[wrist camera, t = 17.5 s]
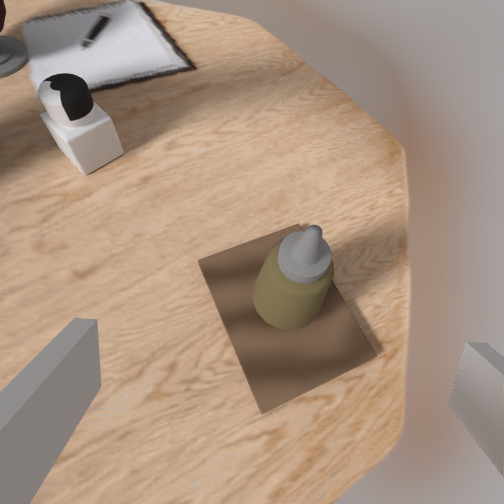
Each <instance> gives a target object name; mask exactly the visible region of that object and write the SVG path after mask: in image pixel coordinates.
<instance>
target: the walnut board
mask: <svg viewBox="0 0 504 504" xmlns="http://www.w3.org/2000/svg"><path fill="white" fill-rule="evenodd" d="M297 231H303V230H302V229H301V227H300V225H299V224H296V225H293V226H290V227H288V228H285V229H282V230H279V231H277V232H274V233H271V234H268V235H266V236H263V237H260V238H257V239H255V240H252V241H249V242H246V243H244V244H241V245H238V246H235V247H233V248H230V249H227V250H224V251H222V252H219V253H216V254H213V255H211V256H208V257H205V258H202V259H200V260H198V262H199V266H200V268H201V271H202V273H203V276H204V278H205V280H206V283H207V285H208V288H209V290H210V292H211V295H212V297H213V300H214V302H215V304H216V307H217V309H218V311H219V314H220V316H221V319H222V321H223V323H224V326H225V328H226V331H227V333H228V335H229V338H230V340H231V342H232V345H233V347H234V350H235V352H236V354H237V357H238V359H239V362H240V364H241V366H242V369H243V371H244V373H245V376H246V378H247V381H248V383H249V385H250V388H251V390H252V393H253V395H254V397H255V400H256V402H257V404H258V407H259V409H260V412H261V414H263V413H265V412H267V411H269V410H271V409H273V408H275V407H277V406H279V405H281V404H283V403H285V402H287V401H289V400H291V399H293V398H295V397H297V396H299V395H301V394H303V393H305V392H307V391H309V390H311V389H313V388H315V387H317V386H319V385H321V384H323V383H325V382H327V381H329V380H331V379H333V378H335V377H337V376H339V375H341V374H343V373H345V372H347V371H349V370H351V369H353V368H355V367H357V366H359V365H361V364H363V363H365V362H367V361H369V360H371V359H373V358H375V357H377V355H376V353H375V352H374V350H373V348H372V347H371V345H370V343H369V342H368V340H367V338H366V336H365V335H364V333H363V331H362V330H361V328H360V326H359V325H358V323H357V321H356V320H355V318H354V316H353V315H352V313H351V311H350V309H349V308H348V306H347V304H346V303H345V301H344V299H343V298H342V296H341V294H340V293H339V291H338V289H337V288H336V286H335V284H334V282H333V281H331V283H330V285H329V288H328V290H327V293H326V295H325V298H324V300H323V303H322V305H321V307H320V310H319V312H318V314H317V317H316V318H315V319H314V320H313V321H312V322H310V323H309V324H308V325H307V326H305V327H302V328H299V329H296V330H285V329H278V328H276V327H274V326H272V325H270V324H268V323H266V322H265V321H264V319H263V318H262V317H261V316H260V315H259V314H258V313H257V311H256V308H255V305H254V302H253V299H252V297H253V286H254V284H255V281H256V279H257V277H258V275H259V273H260V271H261V268H262V266H263V264H264V262H265V260H266V258H267V256H268V254H269V252H270V250H271V248H272V247H273V246H274V245H275V244H276V243H278V242H279V241H280V240H282V239H284V238H285V237H287V236H288V235H289V234H291V233H293V232H297Z"/></svg>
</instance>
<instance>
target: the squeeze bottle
mask: <svg viewBox="0 0 504 504" xmlns="http://www.w3.org/2000/svg"><path fill="white" fill-rule="evenodd" d="M333 276H334V269H333V261H332V259H331V250H330V248H329V246H328V244H327V242H326V241H325V240H324V239H323V238H322V229H321V228H320V227H319V226H317V225H311V226H310V227H309V228H308V229H307V230H306V231H297V232H293V233H291V234H289V235H288V236H287V237H285V238H284V239H282V240H280V241H279V242H278V243H276V244H275V245H274V246H273V247H272V248H271V250H270V252H269V254H268V256H267V258H266V260H265V262H264V264H263V266H262V268H261V271H260V273H259V275H258V277H257V279H256V281H255V284H254V286H253V297H252V299H253V302H254V305H255V308H256V311H257V313H258V314H259V315H260V316H261V317H262V318H263V319H264V321H265V322H266V323H268V324H270V325H272V326H274V327H276V328H278V329H285V330H296V329H299V328H302V327H305V326H307V325H308V324H309V323H310V322H312V321H313V320H314V319H315V318H316V317H317V314H318V312H319V310H320V307H321V305H322V303H323V300H324V298H325V295H326V293H327V290H328V288H329V285H330V283H331V281H332V278H333Z"/></svg>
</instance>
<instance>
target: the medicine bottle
mask: <svg viewBox="0 0 504 504" xmlns="http://www.w3.org/2000/svg"><path fill="white" fill-rule="evenodd" d="M38 96H39V98H40V100H41V101H42V103H43V105H44V107H45V109H46V110H47V111H45V112H43V113H41V114H40V116H41V118H42V120H43V121H44V123H45V125H46V126H47V128H48V130H49V131H50V133H51V135H52V136H53V138H54V140H55V141H56V143H57V145H58V147H59V148H60V150H61V151H62V152H63V153H64V154H65V155H66V156H67V157H68V158H69V160H70V161H71V162H72V163H73V164H74V165H75V166H76V167H77V168H78V169H79V170H80V171H81V172H82V173H83V174H84V175H88V174H89V173H91V172H93V171H94V170H96V169H98V168H100V167H101V166H103V165H105V164H106V163H108V162H110V161H112V160H113V159H115V158H117V157H119V156H120V155H122V154H123V153H124V151H123V148H122V145H121V143H120V140H119V137H118V135H117V132H116V129H115V127H114V124H113V121H112V119H111V117H110V116H109V115H108V114H107V113H105V112H104V111H103V110H102V109H101V108H100V107H99V106H98V105H97V104H96V103H95V102H94V101H93V99H92V96H91V94H90V91H89V89H88V86H87V84H86V82H85V81H84V80H83V79H82V78H80V77H78V76H76V75H74V74H68V73H63V74H56V75H53V76H50V77H48V78H47V79H45V80H44V81H43V82H42V83H41V84H40V86H39V89H38Z"/></svg>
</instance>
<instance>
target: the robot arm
mask: <svg viewBox="0 0 504 504" xmlns="http://www.w3.org/2000/svg"><path fill="white" fill-rule="evenodd" d="M100 388H101V373H100V357H99V341H98V325H97V319H81V318H74V319H73V320H72V321H71V322H70V323H69V324H68V325H67V326H66V327H65V328H64V329H63V330H62V331H61V332H60V333H59V334H58V335H57V336H56V337H55V338H54V339H53V340H52V341H51V342H50V343H49V344H48V345H47V346H46V347H45V348H44V349H43V350H42V351H41V352H40V353H39V354H38V355H37V356H36V357H35V358H34V359H33V360H32V361H31V362H30V363H29V364H28V365H27V366H26V367H25V368H24V369H23V370H22V371H21V372H20V373H19V374H18V375H17V376H16V377H15V378H14V379H13V380H12V381H11V382H10V383H9V384H8V385H7V386H6V387H5V388H4V389H3V390H2V391H1V392H0V504H30V502H31V501H32V499H33V497H34V496H35V494H36V493H37V491H38V489H39V488H40V486H41V484H42V483H43V481H44V479H45V478H46V476H47V474H48V473H49V471H50V470H51V468H52V466H53V465H54V463H55V461H56V460H57V458H58V456H59V455H60V453H61V452H62V450H63V448H64V447H65V445H66V443H67V442H68V440H69V438H70V437H71V435H72V433H73V432H74V430H75V429H76V427H77V425H78V424H79V422H80V420H81V419H82V417H83V415H84V414H85V412H86V411H87V409H88V407H89V406H90V404H91V402H92V401H93V399H94V397H95V396H96V394H97V392H98V391H99V389H100ZM448 406H449V407H450V409H451V410H452V411H453V412H454V414H455V415H456V416H457V417H458V419H459V420H460V422H461V423H462V424H463V425H464V427H465V428H466V429H467V431H468V432H469V433H470V434H471V436H472V437H473V438H474V440H475V441H476V442H477V443H478V445H479V446H480V447H481V448H482V450H483V451H484V452H485V454H486V455H487V456H488V458H489V459H490V460H491V461H492V463H493V464H494V465H495V467H496V468H497V469H498V471H499V472H500V473H501V475H502V476H503V477H504V357H503V356H502V355H500V354H499V353H498V352H497V351H496V350H495V349H493V348H492V347H491V346H490V345H488V344H487V343H475V342H466V345H465V348H464V351H463V355H462V358H461V362H460V366H459V369H458V372H457V375H456V379H455V382H454V385H453V389H452V392H451V396H450V399H449V402H448Z"/></svg>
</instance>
